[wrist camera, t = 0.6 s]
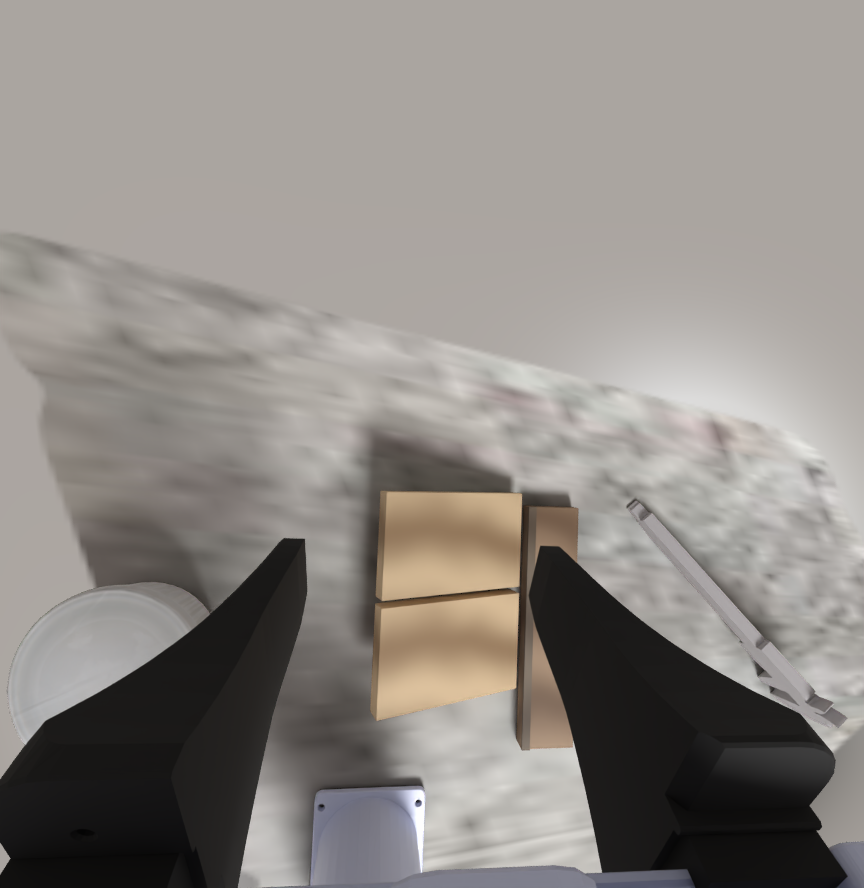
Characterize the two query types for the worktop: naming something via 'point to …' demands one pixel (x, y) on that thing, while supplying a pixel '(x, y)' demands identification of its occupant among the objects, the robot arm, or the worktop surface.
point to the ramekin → (94, 646)
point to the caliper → (742, 629)
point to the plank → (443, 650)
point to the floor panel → (537, 688)
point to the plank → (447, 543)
